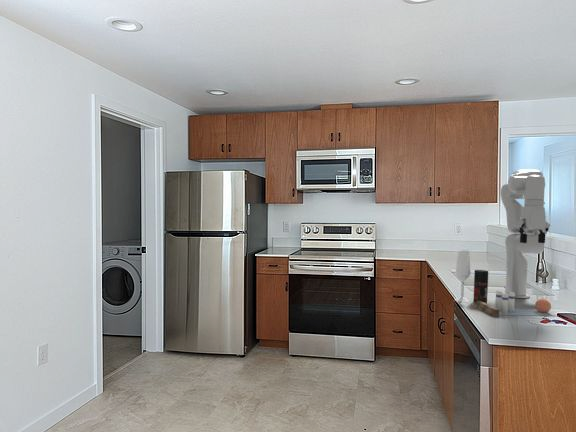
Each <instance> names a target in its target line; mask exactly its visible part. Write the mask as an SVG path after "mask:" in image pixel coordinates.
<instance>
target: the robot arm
mask: <svg viewBox="0 0 576 432" xmlns="http://www.w3.org/2000/svg"><path fill="white" fill-rule="evenodd" d="M545 188H546V179H545V176H544V173H543V172H542V171H541V170H538V169H517V170H515V171H513V172H512V174H511V175H510V176H509V177H508V181H507V183H505V184H503V185H502V186H501V188H500V197H501V198H500V199H501V202H502V204H503V206H504V208H505V214H506V224H507V230H508V232H509V233H511V234H508V235H507V236H506V237H505V251H506V252H505V253H506V266H505V267H506V268H505V285H504V286H503V288H504V290H505V291H502V293H507V294H508V297H509V292H514V293H515V299H516V298H517V299H528V298H530V293H527V284H528V283H527V281H528V260H527V259H526V257H525V256H524V255H523V254H533V255H535V254H542V253H543V252H544V251H545V246H546V245H545V244H546V235H547V233H548V232H549V230H550V227H551V224H550V223H549V222H548V221H547V220H546V219H547V218H546V210H545V204H546V203H545ZM517 200H524V202H523V203H524V204H523V205H524V206H523V205H522V204H521V203H520V202H519V201H517Z"/></svg>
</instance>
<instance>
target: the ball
mask: <svg viewBox="0 0 576 432" xmlns="http://www.w3.org/2000/svg"><path fill="white" fill-rule="evenodd" d="M534 307H535V309H537V310H538V311H539V312H542V313H546V312H548V313H549V311H551V308H552V304H551V302H550V301H549V300H548V299H545V298H539V299H537V300H536V301H535V304H534Z"/></svg>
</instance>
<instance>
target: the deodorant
mask: <svg viewBox="0 0 576 432" xmlns="http://www.w3.org/2000/svg"><path fill="white" fill-rule="evenodd" d="M473 278H474V279H473V280H474V281H473V300H472V301H473V303H474V302H475V303H474V304H477V301H482V302H485V303H487V304H488V291H489V290H488V289H489V271H488V270H485V269H475V270H474V277H473Z"/></svg>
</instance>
